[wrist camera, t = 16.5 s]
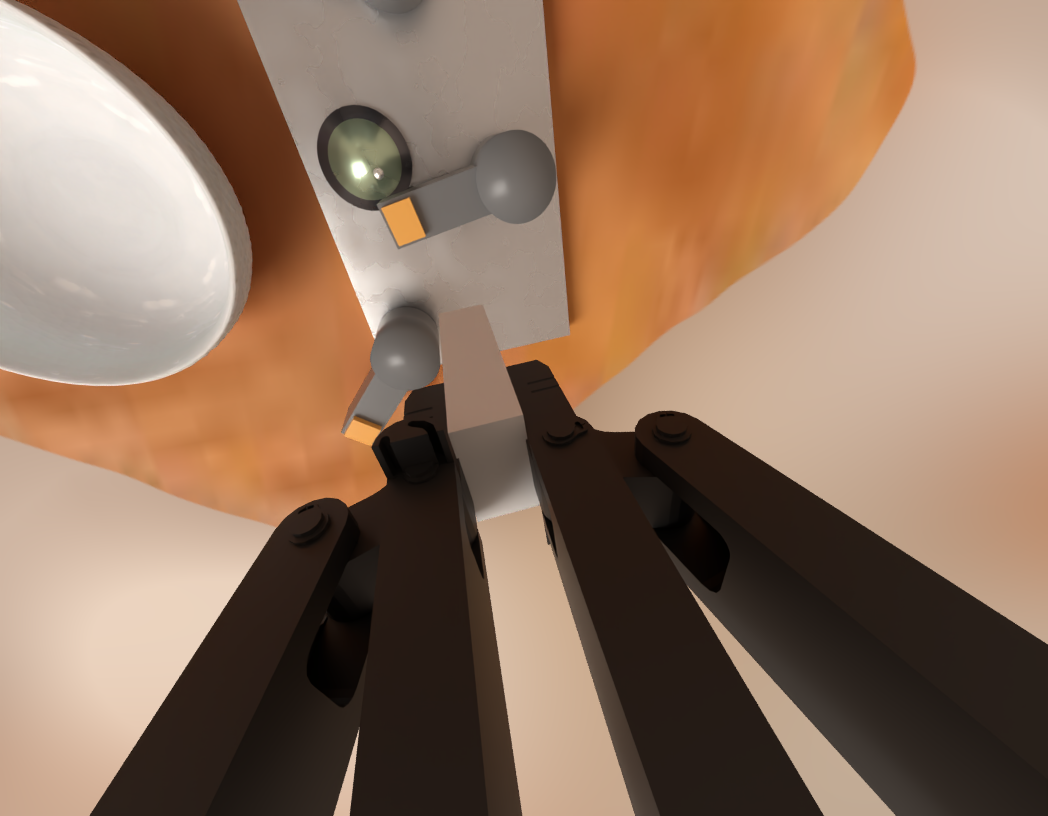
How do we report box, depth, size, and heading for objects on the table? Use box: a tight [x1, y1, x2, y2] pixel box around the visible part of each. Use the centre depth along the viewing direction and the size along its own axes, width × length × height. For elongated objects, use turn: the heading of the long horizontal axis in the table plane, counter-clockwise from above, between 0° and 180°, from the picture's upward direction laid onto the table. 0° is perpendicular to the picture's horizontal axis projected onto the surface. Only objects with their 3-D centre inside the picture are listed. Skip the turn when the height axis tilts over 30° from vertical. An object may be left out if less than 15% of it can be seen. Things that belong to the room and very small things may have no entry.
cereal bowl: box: [0, 0, 253, 386], centre depth 20 cm, size 17×17×7 cm
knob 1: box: [341, 307, 440, 446], centre depth 28 cm, size 10×4×4 cm, turn 143°
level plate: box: [237, 0, 570, 364], centre depth 23 cm, size 28×15×2 cm, turn 8°
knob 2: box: [377, 130, 557, 249], centre depth 23 cm, size 10×4×4 cm, turn 107°
